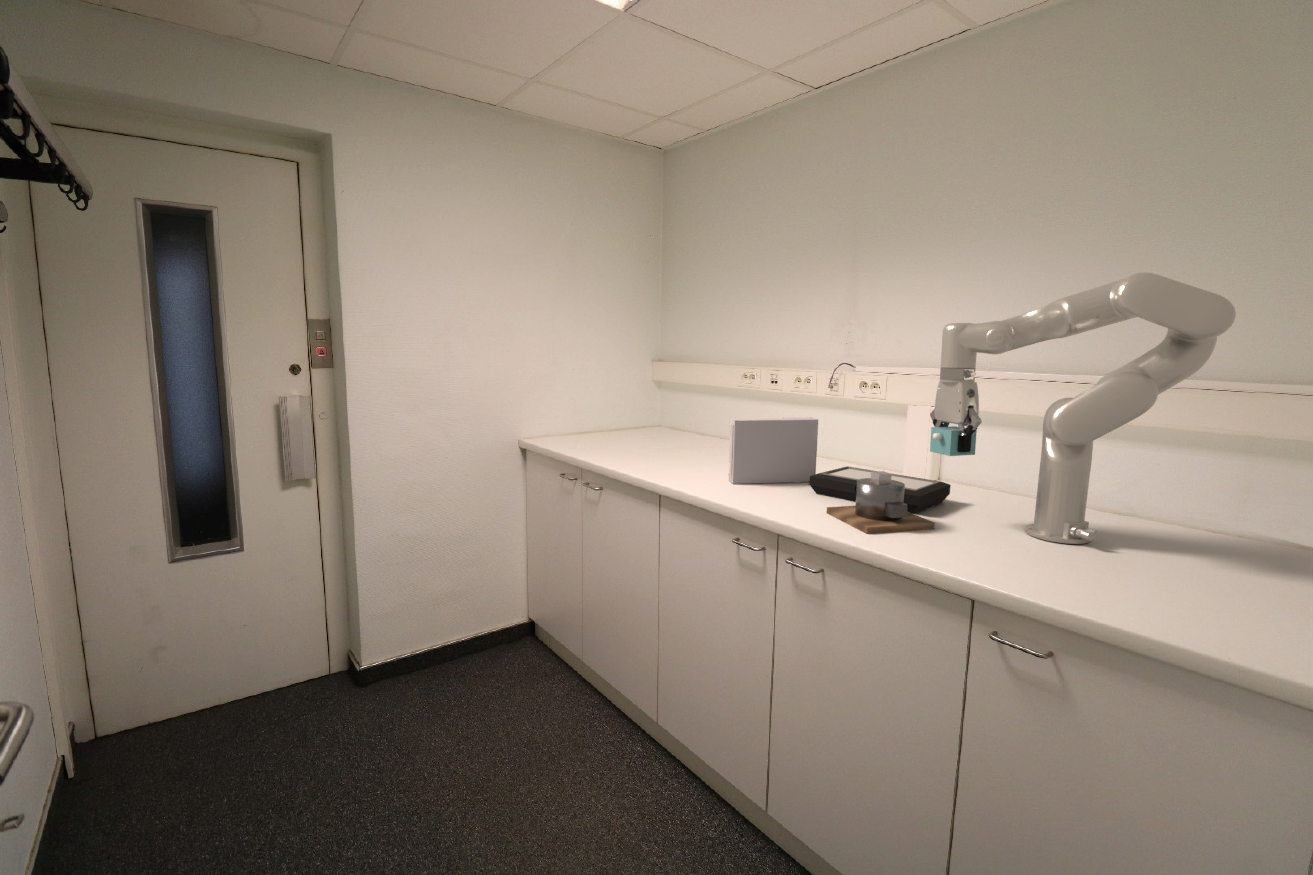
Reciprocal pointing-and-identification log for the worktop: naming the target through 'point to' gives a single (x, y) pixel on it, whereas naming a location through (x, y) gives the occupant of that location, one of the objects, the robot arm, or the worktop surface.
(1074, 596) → the worktop surface
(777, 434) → the upright gray panel box
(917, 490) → the electronic device
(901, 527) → the mounting board
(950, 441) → the block
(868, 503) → the motor
